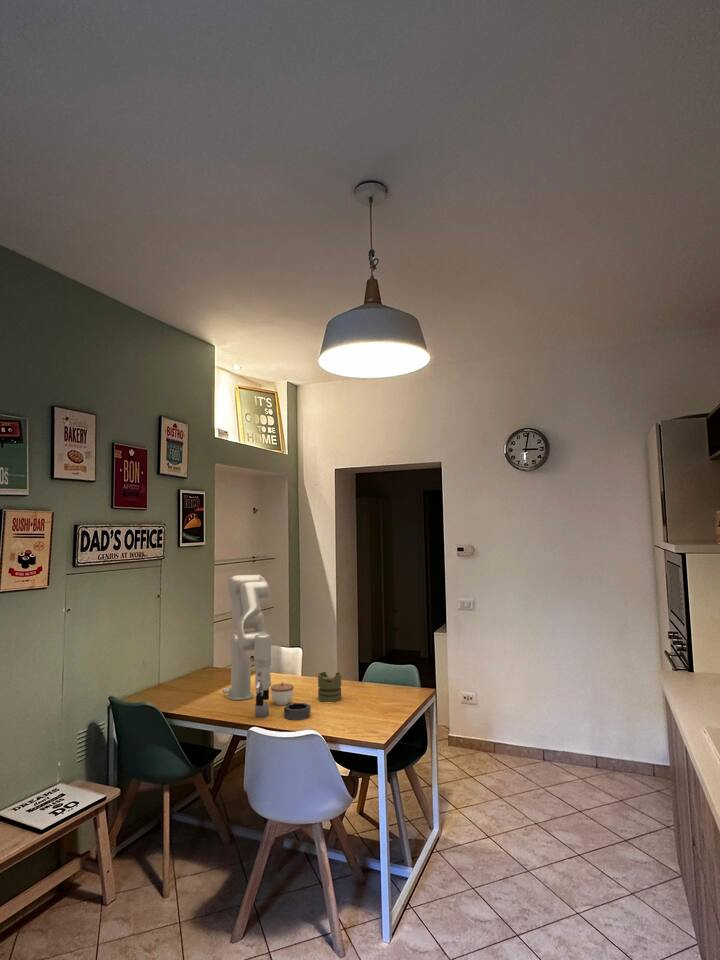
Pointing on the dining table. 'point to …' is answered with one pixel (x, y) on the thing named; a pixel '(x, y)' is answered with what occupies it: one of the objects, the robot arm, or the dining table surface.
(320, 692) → the olive green vest
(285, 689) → the lidded jar
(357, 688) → the dining table surface
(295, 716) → the dark grey round ring
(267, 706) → the cap
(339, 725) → the dining table surface
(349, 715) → the dining table surface
